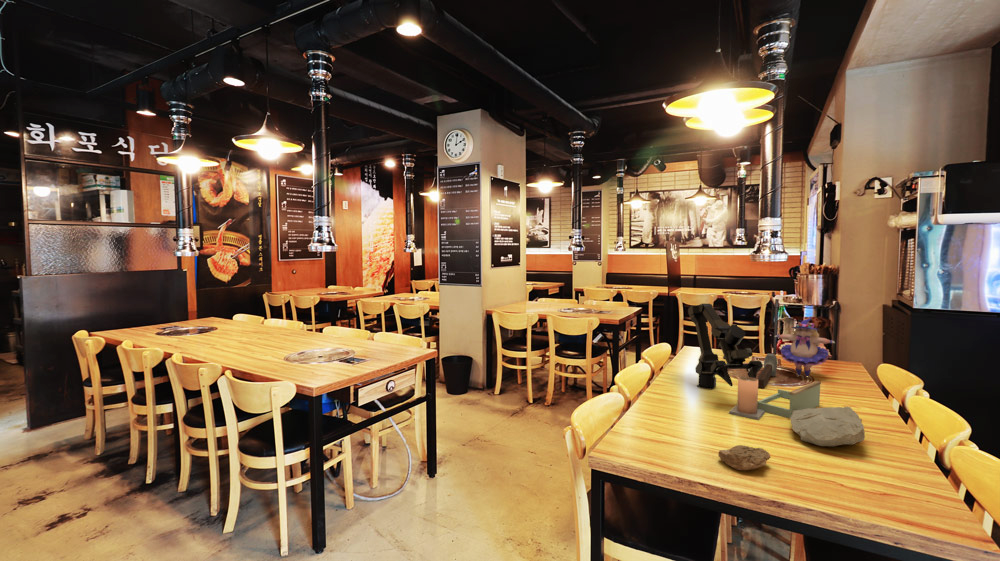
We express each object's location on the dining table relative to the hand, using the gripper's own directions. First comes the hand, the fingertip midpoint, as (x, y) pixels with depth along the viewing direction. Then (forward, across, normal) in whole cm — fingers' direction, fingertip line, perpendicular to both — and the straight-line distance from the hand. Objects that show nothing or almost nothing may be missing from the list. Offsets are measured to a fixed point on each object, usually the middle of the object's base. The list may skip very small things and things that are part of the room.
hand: (743, 385), depth 179 cm
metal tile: (+9, 0, +5) cm, 10 cm away
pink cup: (+8, 0, +4) cm, 9 cm away
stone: (+24, +15, -10) cm, 30 cm away
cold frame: (+4, +20, +10) cm, 22 cm away
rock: (+40, -25, -26) cm, 54 cm away
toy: (-26, +56, +42) cm, 74 cm away
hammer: (-21, +33, +36) cm, 53 cm away
